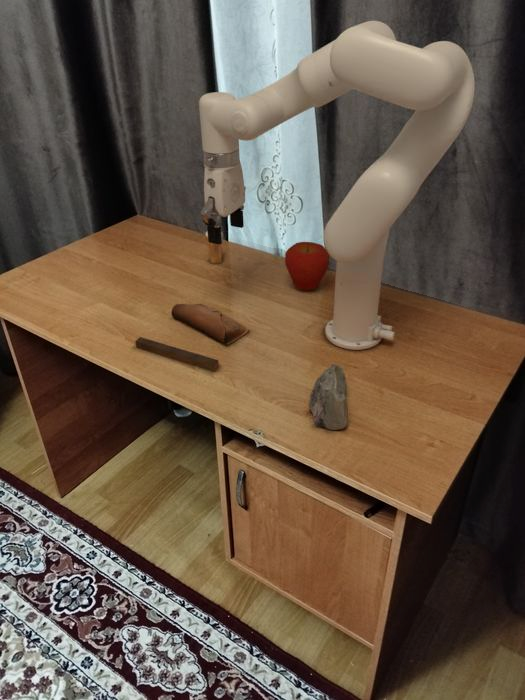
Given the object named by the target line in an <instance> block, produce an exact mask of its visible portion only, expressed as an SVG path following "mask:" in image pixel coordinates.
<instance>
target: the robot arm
mask: <svg viewBox="0 0 525 700" xmlns="http://www.w3.org/2000/svg"><path fill="white" fill-rule="evenodd" d="M475 82H476V81H475V75H474V69H473V66H472V63H471V61H470V59H469V56H468V55H467V53H466V51H464V49H463V48H462V47H460V45H458V44H457V43H454V42H452V41H450V40H449V41H448V40H440V41H435V42H431V43H429V44H428V45H427V44H426V46H424V47H422V48H421V47H417V46H414V45H411V44H409V43H405V42H401V41H398V40H397V37H396V35H395V33H394V31H393V30H392V29H391V27H390V26H388V25H387V23H385V22H382V21H380V20H368V21H365V22H362V23H359V24H356V25H354V26H351V27H349V28H347V29H345V30H344V31H343V32H341V33H340V34H339V35H338V37H337V38H336V39H333V40H332V41H331V42H329V43H327V44H326V45H324V46H323V47H320V48H319V49H316V51H314V52H312V53H310V54H308V55H307V56H305V57H303V58H302V59H301V60H300V61H298V63H297V65H296V67H295V68H294V69H293V70H292V71H291V72H289V73H288V74H285V76H283V77H281V78H279V79H278V80H276V81H274V82H273V83H271V84H269V85H267V86H266V87H263V88H262V89H260V90H257V91H255V92H253V93H251V94H249V95H245V96H244V97H240V98H238V99H237V98H236V97H235V95H234V94H233V93H230V92H224V91H220V92H219V91H217V92H215V91H214V92H207V93H205V94H203V95H202V96H201V97H200V98H199V101H198V110H199V123H200V133H201V145H202V157H203V158H202V159H203V167H204V177H203V196H204V197H203V198H204V206H203V207H202V209H201V211H200V217H201V218H202V222H203V224H204V226H205V227H206V229H207V230H206V232H207V231H208V241H209V242H210V243H214V244H219V245H220V244H222V245H223V233H222V234H221V232H222V226H220V224H221V221H222V218H227V217H229V223H230V226H231V227H233V228H234V227H235V228H240V229H243V228H244V227H245V226H244V225H245V224H244V223H245V222H244V210H245V204H246V203H245V202H246V189H247V187H246V185H245V180H244V179H245V178H244V172H243V167H242V162H241V160H240V157H241V156H240V141H247V142H249V141H253V140H255V139H257V138H259V137H261V136H262V135H264V134H266V133H267V132H269V131H272V130H273V129H275V128H277V127H278V126H280V125H281V124H284V123H285V122H287V121H289V120H290V119H292V118H295V117H296V116H298V115H301V114H302V113H304V112H307V111H308V110H310V109H313V108H321V107H323V106H325V105H327V104H328V103H331V102H332V101H334V100H336V99H338V98H340V97H342V96H344V95H346V94H347V93H349V92H351V91H353V90H355V91H358V92H360V93H362V94H365V95H367V96H368V95H369V96H371V97H373V98H376V99H379V100H382V101H385V102H387V103H391V104H393V105H396V106H399V107H402V108H405V109H408V110H412V111H414V112H413V114H412V115H411V117H410V118H409V119H408V121H406V123H405V124H404V125H403V128H402V129H401V131H400V132H399V134H398V135H397V136H396V138H395V139H394V140H393V142H392V143H391V145H390V146H389V147H388V148H387V150H386V151H385V152H384V153H383V154H381V156H379V158H377V159H376V161H373V163H372V164H370V166H369V167H368V168H367V169H366V170H365V171H364V172H363V173H362V174H361V175H360V177H359V178H358V179H357V180H356V182H355V183H354V184H353V186H352V187H351V189H350V190H349V192H348V193H347V195H346V196H345V197H344V199H343V200H342V201H341V203H340V205H339V206H338V207H337V208H336V210H335V211H334V213H333V214H332V215H331V217H330V218H329V220H328V221H327V223H326V225H325V227H324V230H323V235H322V236H323V246H324V248H325V249H326V250H327V252H328V253H329V257H331V258H332V259H334V260H335V261H336V265H335V278H334V279H335V281H334V297H333V312H332V314H333V315H332V319H331V320H330V321H328V322H327V324H326V325H325V330H324V333H325V337H326V338H327V339H326V340H328V341H329V342H330V343H331V344H333V345H334V346H337V347H339V348H341V349H346V350H353V351H361V350H367V349H370V348H373V347H375V346H377V345H378V344H379V343H380V342H381V341H382V339H384V340H388V341H394V340H395V337H396V331H393V325H389V324H383V322H382V321H381V320H382V316H381V315H379V314H378V313H379V305H380V297H381V296H380V295H381V288H382V287H381V286H382V277H383V271H384V263H385V255H386V249H387V244H388V240H389V235H390V230H391V227H392V226H393V225H394V224H395V222H396V221H397V220H398V219H399V218H400V216H401V215H402V214H403V213H404V212H405V209H407V207H408V206H409V205H410V203H411V202H412V201H413V200H414V198H415V197H416V194H417V193H418V191H419V190H420V187H421V186H422V184H423V183H424V181H425V180H426V179H427V178H428V176H429V175H430V174H431V172H432V171H433V170H434V169H435V167H436V166H437V165H438V164H439V162H440V161H441V160H442V158H443V157H444V155H445V154H446V153H447V152H448V150H449V148H451V146H452V145H453V143H454V142H455V141H456V139H457V138H458V136H459V135H460V133H461V131H462V130H463V128H464V126H465V125H466V123H467V121H468V118H469V116H470V115H471V114H470V113H471V110H472V107H473V104H474V99H475V86H476V83H475ZM213 217H215V219H213Z"/></svg>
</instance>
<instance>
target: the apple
mask: <svg viewBox="0 0 525 700" xmlns="http://www.w3.org/2000/svg"><path fill="white" fill-rule="evenodd" d="M284 255H285V256H284V265H285V267H286V269H287V272H288V274H289V276H290V279H291V281H292V282H293V284H294V285H295V286H296V287H297V288H298V289H300V290H303V291H313V290H314V289H316V288H317V287H319V285H320V284H321V282H322V280H323V278H324V277H325V276H326V273H327V271H328V268H329V266H330V255H329V253H328V252H327V250H326V248H325V246H324V245H322V244H320V243H317V242H312V241H300V242H296V243H294V244H293V245H291V246H290V247H289V248H288V249H287V250H286V252H285V253H284Z"/></svg>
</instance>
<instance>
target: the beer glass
mask: <svg viewBox="0 0 525 700" xmlns="http://www.w3.org/2000/svg"><path fill="white" fill-rule="evenodd" d="M203 233H204V235H205V240H206V244H207V245H206V246H207V250H208V251H207V252H208V258H209V262H210V263H211V264H220V263H221V262H222V261H223V243H222V244H220V245H219V244H214V243H210V242H209V241H208V231H207V230H206V232H205V231H203ZM221 234H222V235H223V232H222V231H221Z"/></svg>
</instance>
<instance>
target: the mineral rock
mask: <svg viewBox="0 0 525 700" xmlns="http://www.w3.org/2000/svg"><path fill="white" fill-rule="evenodd" d="M347 387H348V384H347V378H346V374H345V371H344V369H343V367H342V366H341V365H337V364H331V365H330V366H329V367H328V368H327V369H325V370H324V371H323V372H322V373H321V375H320V376H318V378H316V381H315V383H314V385H313V387H312V388H313V389H312V391H311V392H310V395H309V396H310V397H309V401H308V407H309V409H310V411H311V414H312V417H313V423H315V426H317V427H319V428H325V429H327V430H330V431H338V430H343V429H345V428H346V427H347V426H348V424H349V423H348V404H347V399H346V395H347Z"/></svg>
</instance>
